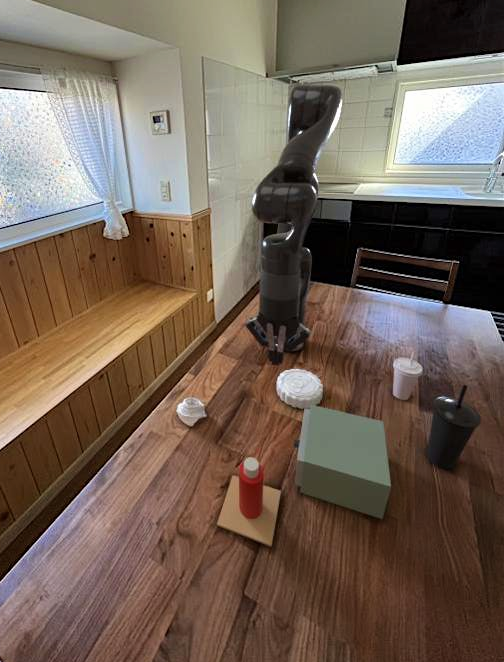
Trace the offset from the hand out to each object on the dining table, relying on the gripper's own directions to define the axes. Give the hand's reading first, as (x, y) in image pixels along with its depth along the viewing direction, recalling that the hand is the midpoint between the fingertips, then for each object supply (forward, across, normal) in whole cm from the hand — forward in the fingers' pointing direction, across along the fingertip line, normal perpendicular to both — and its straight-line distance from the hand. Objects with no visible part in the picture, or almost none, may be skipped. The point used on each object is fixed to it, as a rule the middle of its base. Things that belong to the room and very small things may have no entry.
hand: (276, 362), depth 71 cm
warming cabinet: (+21, +15, -4) cm, 26 cm away
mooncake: (+21, +4, +16) cm, 27 cm away
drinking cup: (+21, +35, +5) cm, 41 cm away
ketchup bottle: (+20, -1, -18) cm, 27 cm away
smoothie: (+21, +29, +23) cm, 43 cm away
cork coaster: (+21, -1, -18) cm, 28 cm away
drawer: (+20, +13, -4) cm, 24 cm away
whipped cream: (+21, -20, -1) cm, 29 cm away
